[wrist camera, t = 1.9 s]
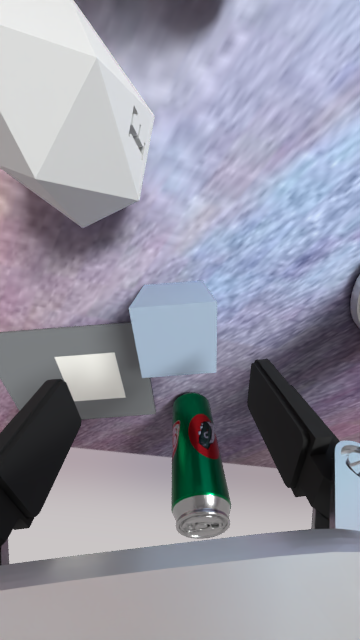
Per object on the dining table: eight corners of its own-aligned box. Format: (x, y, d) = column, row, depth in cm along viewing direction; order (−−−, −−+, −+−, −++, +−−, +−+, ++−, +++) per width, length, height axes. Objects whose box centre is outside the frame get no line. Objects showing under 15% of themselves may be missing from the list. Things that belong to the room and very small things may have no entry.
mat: (140, 321, 20) (139, 323, 20) (155, 411, 26) (155, 414, 26) (-22, 333, 20) (-26, 335, 20) (29, 421, 26) (26, 423, 26)
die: (112, 249, 18) (169, 220, 10) (-21, 200, 12) (-125, 51, 5) (128, 160, 18) (199, 60, 10) (-1, 70, 12) (-76, -329, 4)
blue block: (202, 280, 19) (217, 301, 12) (203, 332, 21) (216, 372, 15) (144, 284, 19) (128, 308, 12) (151, 336, 21) (142, 377, 15)
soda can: (169, 393, 25) (165, 516, 14) (206, 387, 24) (233, 507, 13) (176, 418, 27) (177, 544, 16) (210, 413, 26) (236, 537, 15)
